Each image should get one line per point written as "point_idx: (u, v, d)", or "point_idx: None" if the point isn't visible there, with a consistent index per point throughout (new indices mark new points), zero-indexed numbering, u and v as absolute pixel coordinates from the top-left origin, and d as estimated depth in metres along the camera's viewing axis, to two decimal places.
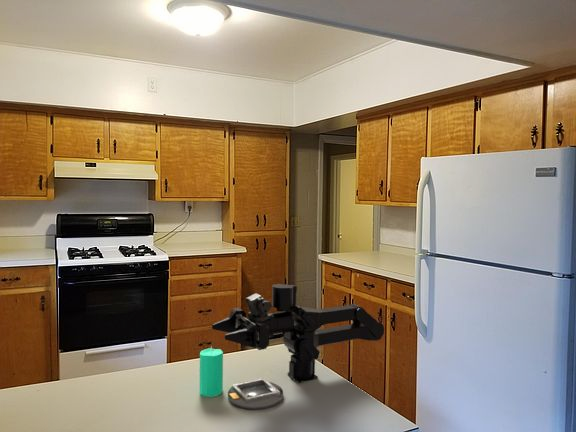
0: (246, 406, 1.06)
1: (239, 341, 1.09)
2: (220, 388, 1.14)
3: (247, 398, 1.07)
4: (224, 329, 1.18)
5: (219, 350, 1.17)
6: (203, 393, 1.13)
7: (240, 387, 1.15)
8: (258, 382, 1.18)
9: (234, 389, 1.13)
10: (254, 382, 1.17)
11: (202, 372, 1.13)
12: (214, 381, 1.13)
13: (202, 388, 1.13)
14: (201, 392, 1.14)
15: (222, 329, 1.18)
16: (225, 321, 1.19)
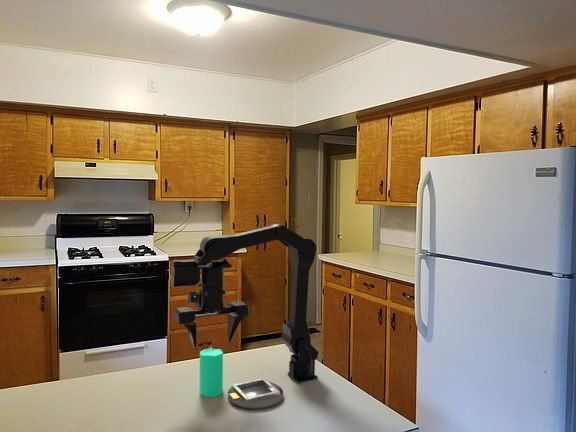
0: (246, 406, 1.06)
1: (191, 336, 1.11)
2: (220, 388, 1.14)
3: (247, 398, 1.07)
4: (230, 330, 1.16)
5: (219, 350, 1.17)
6: (203, 393, 1.13)
7: (240, 387, 1.15)
8: (258, 382, 1.18)
9: (234, 389, 1.13)
10: (254, 382, 1.17)
11: (202, 372, 1.13)
12: (214, 381, 1.13)
13: (202, 388, 1.13)
14: (201, 392, 1.14)
15: (230, 332, 1.16)
16: (227, 326, 1.18)
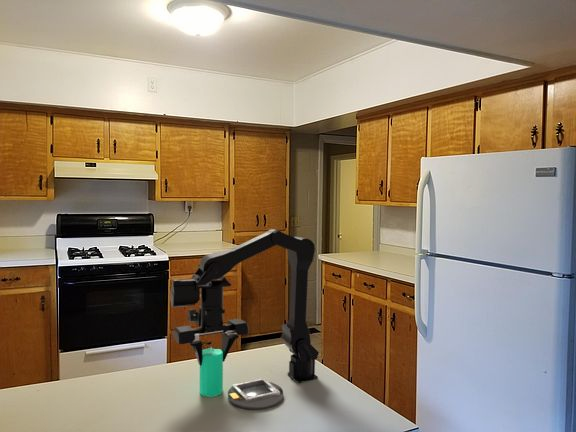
0: (246, 406, 1.06)
1: (197, 354, 1.12)
2: (220, 388, 1.14)
3: (247, 398, 1.07)
4: (224, 349, 1.16)
5: (219, 350, 1.17)
6: (203, 393, 1.13)
7: (240, 387, 1.15)
8: (258, 382, 1.18)
9: (234, 389, 1.13)
10: (254, 382, 1.17)
11: (202, 372, 1.13)
12: (214, 381, 1.13)
13: (202, 388, 1.13)
14: (201, 392, 1.14)
15: (224, 351, 1.16)
16: (222, 345, 1.18)
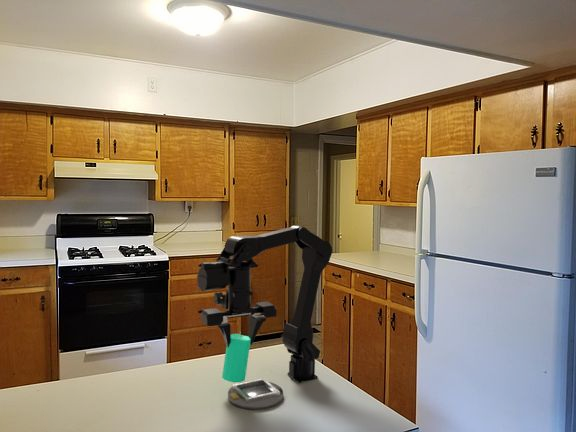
0: (246, 406, 1.06)
1: (225, 337, 1.10)
2: (243, 375, 1.12)
3: (247, 398, 1.07)
4: (252, 332, 1.14)
5: (247, 337, 1.15)
6: (226, 378, 1.11)
7: (240, 387, 1.15)
8: (258, 382, 1.18)
9: (234, 389, 1.13)
10: (254, 382, 1.17)
11: (227, 355, 1.11)
12: (238, 367, 1.11)
13: (225, 372, 1.11)
14: (224, 376, 1.12)
15: (252, 334, 1.14)
16: (249, 328, 1.16)
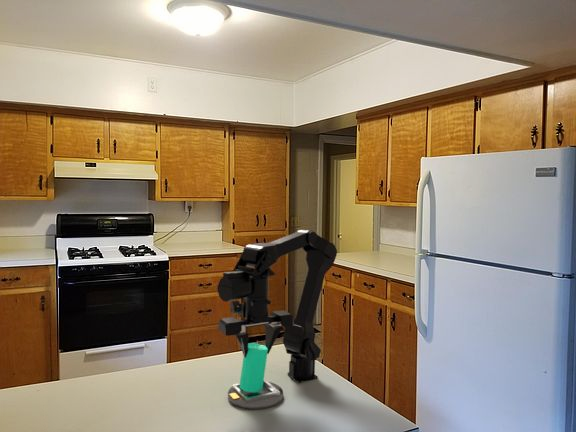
0: (246, 406, 1.06)
1: (243, 346, 1.09)
2: (261, 385, 1.11)
3: (247, 398, 1.07)
4: (269, 341, 1.13)
5: (264, 346, 1.14)
6: (243, 388, 1.10)
7: None
8: None
9: (234, 389, 1.13)
10: None
11: (245, 365, 1.10)
12: (256, 376, 1.10)
13: (243, 382, 1.10)
14: (241, 386, 1.11)
15: (269, 343, 1.13)
16: (266, 337, 1.15)
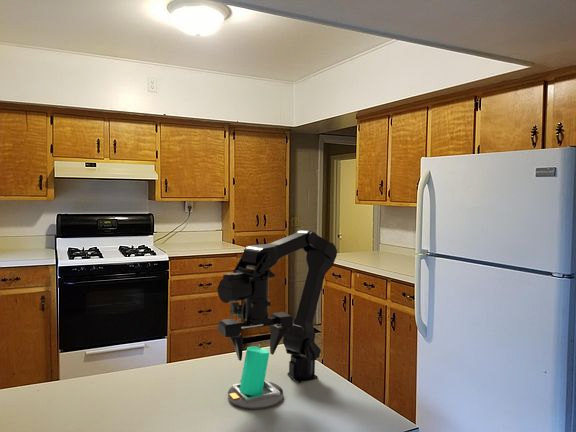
0: (246, 406, 1.06)
1: (237, 348, 1.09)
2: (261, 389, 1.11)
3: (247, 398, 1.07)
4: (274, 342, 1.14)
5: (265, 350, 1.15)
6: (243, 390, 1.10)
7: None
8: None
9: (234, 389, 1.13)
10: None
11: (246, 368, 1.11)
12: (257, 380, 1.10)
13: (243, 385, 1.10)
14: (241, 389, 1.11)
15: (273, 344, 1.14)
16: (270, 338, 1.16)
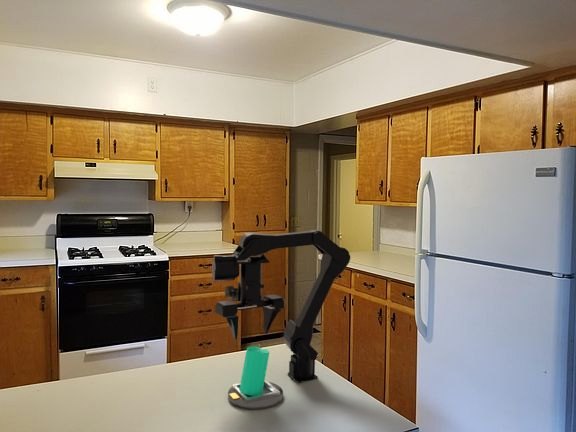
0: (246, 406, 1.06)
1: (233, 328, 1.16)
2: (261, 389, 1.11)
3: (247, 398, 1.07)
4: (267, 322, 1.22)
5: (265, 350, 1.15)
6: (243, 390, 1.10)
7: None
8: None
9: (234, 389, 1.13)
10: None
11: (246, 368, 1.11)
12: (257, 380, 1.10)
13: (243, 385, 1.10)
14: (241, 389, 1.11)
15: (267, 324, 1.22)
16: (264, 319, 1.24)
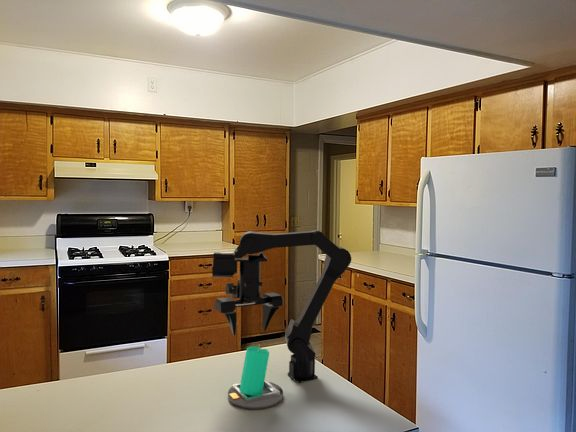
0: (246, 406, 1.06)
1: (231, 324, 1.19)
2: (261, 389, 1.11)
3: (247, 398, 1.07)
4: (266, 319, 1.25)
5: (265, 350, 1.15)
6: (243, 390, 1.10)
7: None
8: None
9: (234, 389, 1.13)
10: None
11: (246, 368, 1.11)
12: (257, 380, 1.10)
13: (243, 385, 1.10)
14: (241, 389, 1.11)
15: (265, 321, 1.25)
16: (263, 316, 1.26)
